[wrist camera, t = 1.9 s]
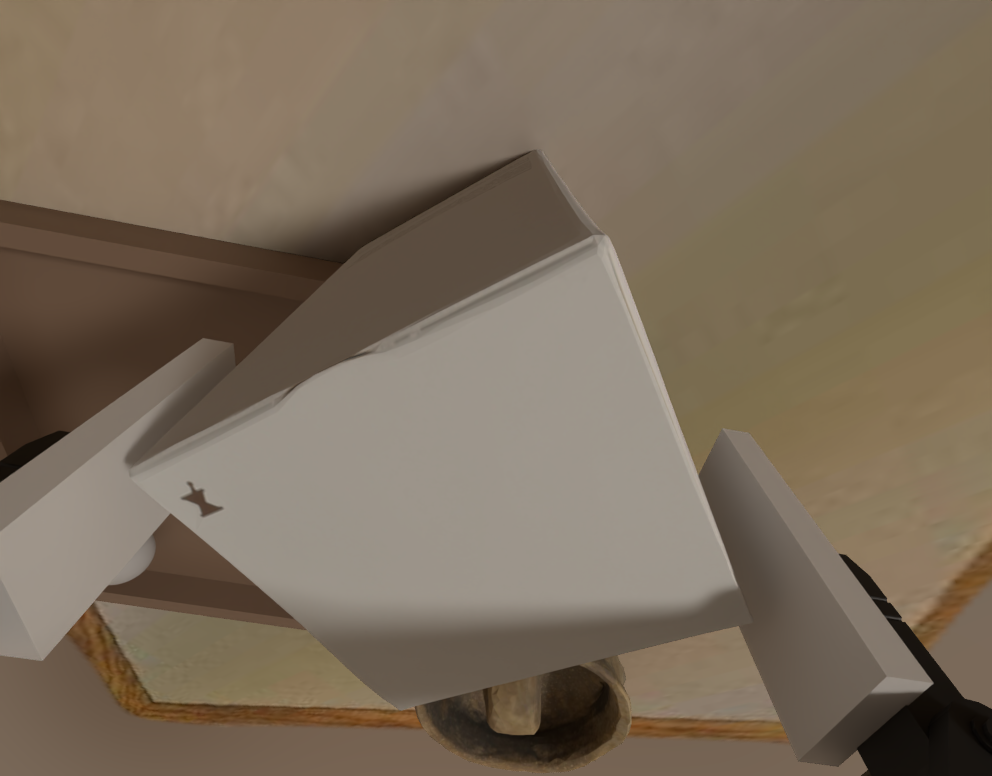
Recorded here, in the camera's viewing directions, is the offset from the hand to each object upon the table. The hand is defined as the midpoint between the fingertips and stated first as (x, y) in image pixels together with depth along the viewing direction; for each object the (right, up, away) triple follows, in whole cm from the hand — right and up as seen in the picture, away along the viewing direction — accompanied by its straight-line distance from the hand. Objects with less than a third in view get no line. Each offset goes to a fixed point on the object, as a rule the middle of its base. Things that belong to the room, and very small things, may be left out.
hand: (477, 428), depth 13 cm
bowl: (+2, -15, +21) cm, 26 cm away
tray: (-16, -2, +14) cm, 22 cm away
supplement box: (0, +6, +9) cm, 10 cm away
